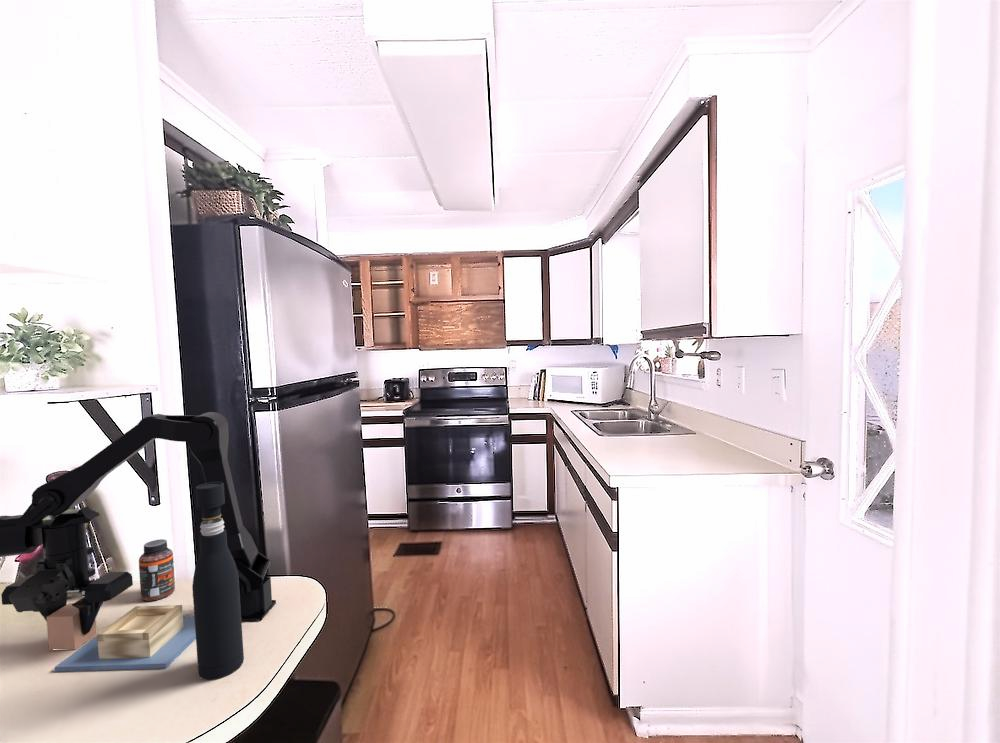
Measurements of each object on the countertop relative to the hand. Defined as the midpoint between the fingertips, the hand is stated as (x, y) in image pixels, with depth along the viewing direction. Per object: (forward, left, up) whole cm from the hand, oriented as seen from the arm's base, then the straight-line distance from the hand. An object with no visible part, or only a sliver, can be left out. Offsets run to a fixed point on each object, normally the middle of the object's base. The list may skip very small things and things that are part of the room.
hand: (72, 633), depth 86 cm
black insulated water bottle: (-31, +8, -2) cm, 32 cm away
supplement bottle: (-4, -16, -2) cm, 17 cm away
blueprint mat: (-13, +1, -2) cm, 13 cm away
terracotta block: (0, 0, -2) cm, 2 cm away
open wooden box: (-14, +2, -2) cm, 14 cm away
